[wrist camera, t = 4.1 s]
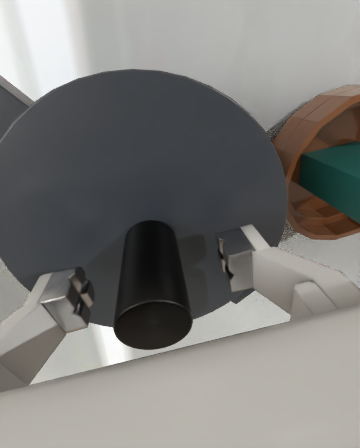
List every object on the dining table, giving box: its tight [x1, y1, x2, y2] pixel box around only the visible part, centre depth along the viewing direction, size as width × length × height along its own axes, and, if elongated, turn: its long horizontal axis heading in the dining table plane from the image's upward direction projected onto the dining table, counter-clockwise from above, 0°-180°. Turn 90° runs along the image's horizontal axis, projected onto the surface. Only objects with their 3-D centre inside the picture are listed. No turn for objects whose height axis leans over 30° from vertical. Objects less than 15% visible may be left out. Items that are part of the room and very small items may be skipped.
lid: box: [0, 69, 288, 350], centre depth 9 cm, size 13×13×6 cm
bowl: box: [272, 85, 360, 240], centre depth 19 cm, size 12×12×4 cm
